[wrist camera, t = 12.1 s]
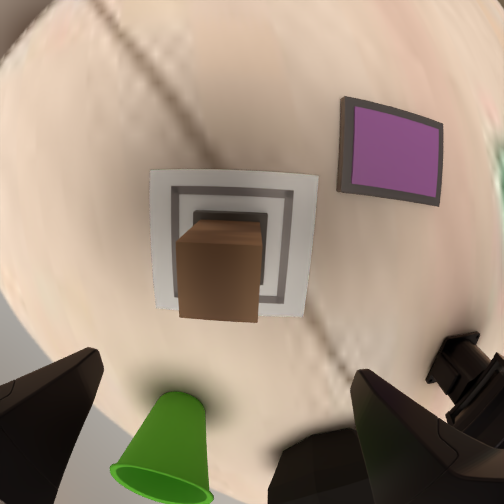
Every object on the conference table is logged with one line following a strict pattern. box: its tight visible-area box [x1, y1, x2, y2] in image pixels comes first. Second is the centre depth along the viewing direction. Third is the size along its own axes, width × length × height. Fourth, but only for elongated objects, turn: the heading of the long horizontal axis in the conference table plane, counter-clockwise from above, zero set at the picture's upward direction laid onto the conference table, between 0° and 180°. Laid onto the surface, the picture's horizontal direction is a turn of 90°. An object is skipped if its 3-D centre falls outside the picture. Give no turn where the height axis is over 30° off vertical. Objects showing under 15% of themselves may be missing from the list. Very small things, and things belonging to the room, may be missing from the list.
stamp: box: [176, 210, 268, 323], centre depth 16 cm, size 5×5×7 cm
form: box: [150, 169, 319, 317], centre depth 20 cm, size 12×11×1 cm
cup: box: [110, 392, 214, 504], centre depth 20 cm, size 9×9×11 cm
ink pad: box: [337, 96, 443, 207], centre depth 17 cm, size 9×7×1 cm
